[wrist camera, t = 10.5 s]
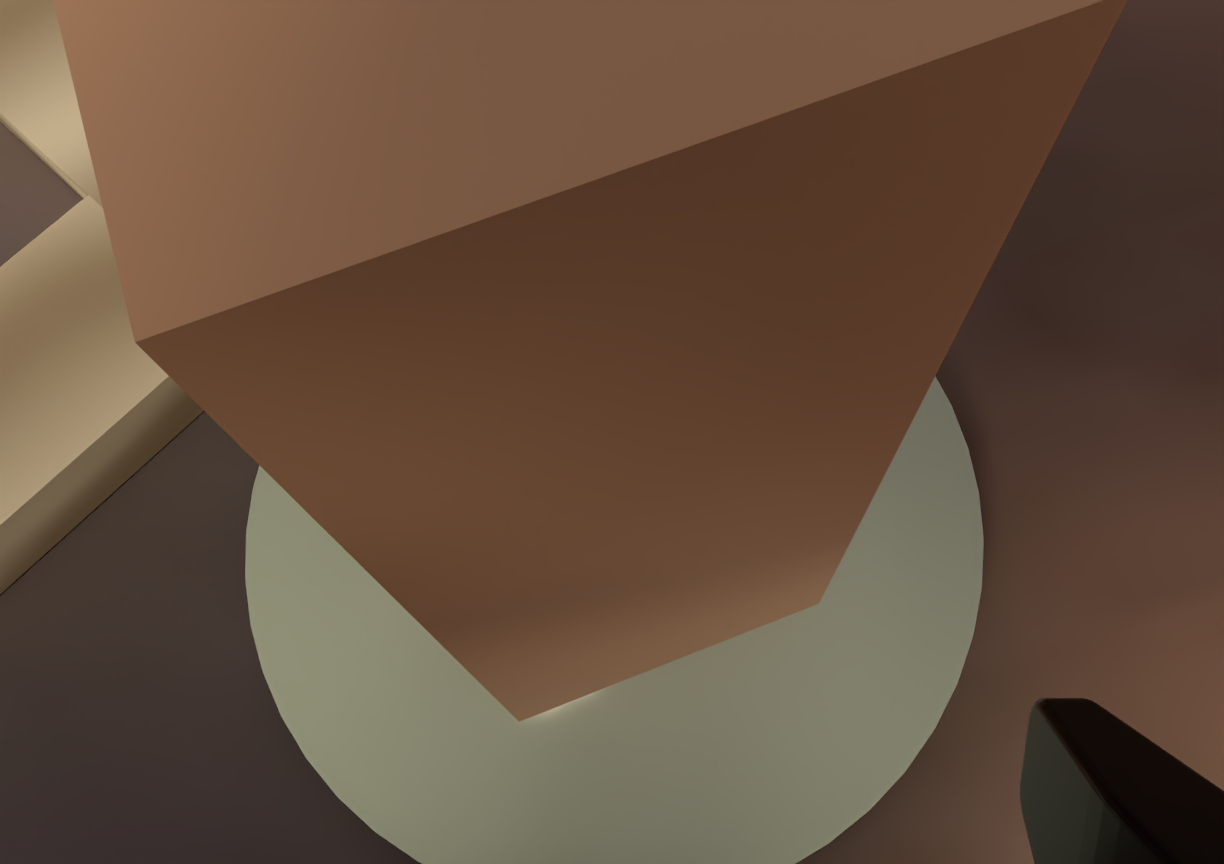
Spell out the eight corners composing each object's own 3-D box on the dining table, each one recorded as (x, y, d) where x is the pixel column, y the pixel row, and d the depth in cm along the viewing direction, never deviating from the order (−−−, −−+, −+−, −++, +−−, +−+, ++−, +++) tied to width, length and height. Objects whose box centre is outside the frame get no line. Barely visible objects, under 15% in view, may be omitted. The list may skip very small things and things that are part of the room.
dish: (1117, 500, 19) (1135, 484, 18) (633, 1101, 16) (631, 1113, 15) (594, 117, 22) (591, 91, 21) (121, 553, 19) (98, 540, 19)
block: (818, 603, 17) (1133, -11, 5) (519, 721, 17) (134, 342, 5) (696, 339, 19) (728, -561, 7) (423, 440, 19) (-27, -336, 7)
